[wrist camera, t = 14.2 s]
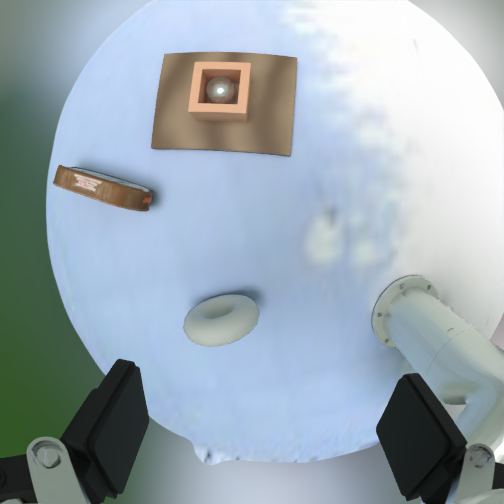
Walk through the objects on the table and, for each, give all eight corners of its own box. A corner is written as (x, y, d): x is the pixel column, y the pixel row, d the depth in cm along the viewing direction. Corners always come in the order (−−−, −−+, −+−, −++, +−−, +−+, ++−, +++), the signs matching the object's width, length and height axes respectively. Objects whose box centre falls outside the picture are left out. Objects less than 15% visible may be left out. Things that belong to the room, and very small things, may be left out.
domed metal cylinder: (237, 87, 32) (235, 76, 28) (234, 109, 33) (232, 101, 29) (212, 86, 32) (207, 76, 28) (209, 108, 33) (204, 100, 29)
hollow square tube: (251, 77, 31) (250, 62, 27) (247, 122, 33) (245, 113, 28) (202, 76, 31) (194, 61, 26) (196, 120, 33) (188, 111, 28)
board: (295, 61, 32) (297, 57, 31) (288, 156, 35) (290, 155, 34) (167, 58, 32) (164, 54, 30) (154, 149, 35) (151, 148, 34)
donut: (195, 319, 41) (180, 357, 32) (188, 298, 40) (170, 333, 31) (261, 306, 41) (263, 343, 31) (255, 284, 40) (256, 317, 30)
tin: (74, 182, 36) (40, 185, 28) (79, 162, 36) (45, 161, 27) (157, 210, 37) (133, 218, 29) (163, 188, 37) (140, 191, 28)
